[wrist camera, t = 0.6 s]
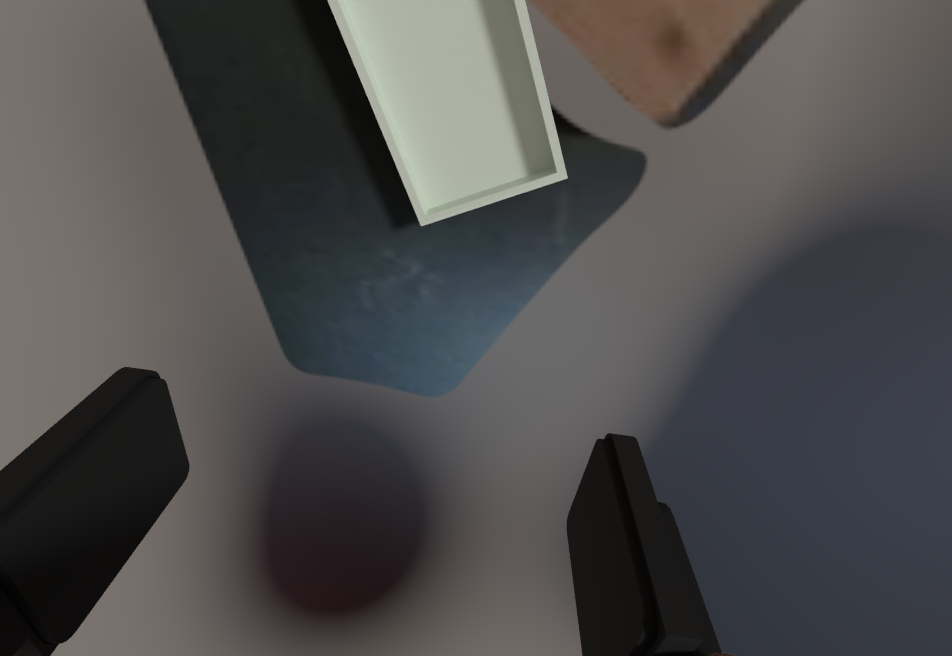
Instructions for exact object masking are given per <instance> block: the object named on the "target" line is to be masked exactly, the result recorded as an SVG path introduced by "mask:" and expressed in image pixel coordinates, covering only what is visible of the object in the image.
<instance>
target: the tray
mask: <svg viewBox="0 0 952 656" xmlns="http://www.w3.org/2000/svg"><path fill="white" fill-rule="evenodd" d="M328 3H329V5H330V8H331V10H332V13H333V15H334V17H335V20H336V22H337V25H338V27H339V29H340V32H341V34H342V37H343V39H344V42H345V44H346V46H347V49H348V51H349V54H350V56H351V58H352V61H353V63H354V66H355V68H356V70H357V73H358V75H359V78H360V80H361V83H362V85H363V87H364V90H365V92H366V95H367V97H368V99H369V102H370V104H371V107H372V109H373V111H374V114H375V116H376V119H377V121H378V124H379V126H380V128H381V131H382V133H383V136H384V138H385V140H386V143H387V145H388V148H389V150H390V152H391V155H392V157H393V160H394V162H395V165H396V167H397V169H398V172H399V174H400V177H401V179H402V181H403V184H404V186H405V189H406V191H407V193H408V196H409V198H410V201H411V203H412V206H413V208H414V210H415V213H416V215H417V218H418V220H419V222H420V225H421V226H424V225H427V224H430V223H433V222H436V221H439V220H442V219H445V218H448V217H451V216H454V215H457V214H460V213H463V212H466V211H469V210H472V209H475V208H479V207H482V206H485V205H488V204H491V203H494V202H497V201H500V200H503V199H506V198H509V197H512V196H515V195H518V194H521V193H524V192H527V191H530V190H533V189H537V188H540V187H543V186H546V185H549V184H552V183H555V182H558V181H561V180H564V179H567V178H568V177H567V173H566V169H565V165H564V161H563V157H562V152H561V148H560V144H559V140H558V136H557V132H556V127H555V123H554V119H553V115H552V111H551V107H550V102H549V98H548V94H547V90H546V86H545V82H544V78H543V73H542V69H541V65H540V61H539V57H538V52H537V48H536V44H535V40H534V36H533V32H532V27H531V23H530V19H529V15H528V11H527V7H526V2H525V0H328Z"/></svg>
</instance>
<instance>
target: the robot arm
mask: <svg viewBox="0 0 952 656" xmlns="http://www.w3.org/2000/svg"><path fill="white" fill-rule="evenodd" d="M188 472H189V461H188V458H187V454H186V451H185V447H184V443H183V440H182V436H181V433H180V429H179V426H178V422H177V418H176V415H175V411H174V408H173V404H172V401H171V397H170V393H169V390H168V387H167V383H166V381H165V380H164V379H161V378H160V376H159V374H158V373H157V372H156V371H152V370H145V369H137V368H130V367H124V368H121V369H120V370H118V371H117V372H115V373H114V374H113V375H112V376H111V377H110V378H108V379H107V380H106V381H105V382H104V383H103V384H101V385H100V386H99V387H98V388H97V389H96V390H94V391H93V392H92V393H91V394H90V395H88V396H87V397H86V398H85V399H84V400H83V401H82V402H80V403H79V404H78V405H77V406H76V407H74V409H72V410H71V411H70V412H69V413H68V414H66V415H65V416H64V417H63V418H62V419H60V421H58V422H57V423H56V424H55V425H54V426H52V427H51V428H50V429H49V430H48V431H46V432H45V433H44V434H43V435H42V436H41V437H39V438H38V439H37V440H36V441H35V442H34V443H32V444H31V445H30V446H29V447H28V448H27V449H25V450H24V451H23V452H22V453H21V454H20V455H18V456H17V457H16V458H15V459H14V460H13V461H11V462H10V463H9V464H8V465H7V466H5V467H4V468H3V469H2V470H1V471H0V656H50V655H51V654H52V652H53V651H54V650H55V648H56V647H57V646H58V644H59V643H63V642H65V641H67V640H68V639H69V638H70V637H72V635H73V634H74V633H75V632H76V631H77V629H78V628H79V627H80V625H81V624H82V622H83V621H84V620H85V618H86V617H87V615H88V614H89V613H90V611H91V610H92V608H93V607H94V606H95V604H96V603H97V601H98V600H99V599H100V598H101V596H102V595H103V593H104V592H105V591H106V589H107V588H108V586H109V585H110V583H111V582H112V581H113V580H114V578H115V577H116V575H117V574H118V573H119V571H120V570H121V569H122V567H123V566H124V564H125V563H126V562H127V560H128V559H129V557H130V556H131V555H132V553H133V552H134V550H135V549H136V548H137V546H138V545H139V544H140V542H141V541H142V540H143V538H144V537H145V535H146V534H147V533H148V531H149V530H150V529H151V527H152V526H153V524H154V523H155V522H156V520H157V519H158V517H159V516H160V515H161V513H162V512H163V511H164V509H165V508H166V506H167V505H168V503H169V502H170V501H171V500H172V498H173V497H174V495H175V494H176V492H177V491H178V490H179V488H180V487H181V486H182V484H183V483H184V481H185V480H186V478H187V476H188ZM567 535H568V544H569V552H570V560H571V567H572V576H573V583H574V591H575V599H576V607H577V615H578V623H579V631H580V638H581V646H582V654H583V656H735V655H732V654H729V653H722V652H721V649H720V646H719V643H718V640H717V638H716V635H715V632H714V629H713V626H712V623H711V621H710V618H709V615H708V612H707V609H706V607H705V604H704V601H703V598H702V595H701V593H700V590H699V587H698V584H697V581H696V578H695V575H694V573H693V570H692V567H691V564H690V561H689V559H688V556H687V553H686V550H685V547H684V544H683V542H682V539H681V536H680V533H679V531H678V527H677V525H676V522H675V519H674V516H673V514H672V512H671V510H670V508H669V507H668V506H667V505H666V504H664V503H661V502H657V499H656V496H655V493H654V490H653V487H652V484H651V481H650V478H649V475H648V472H647V469H646V465H645V462H644V459H643V456H642V453H641V450H640V447H639V444H638V442H637V439H636V438H635V437H632V436H624V435H617V434H610V433H608V434H607V435H606V436H605V438H604V439H598V440H597V441H596V443H595V445H594V448H593V451H592V453H591V456H590V458H589V461H588V464H587V466H586V469H585V472H584V474H583V477H582V480H581V482H580V485H579V487H578V490H577V493H576V495H575V498H574V501H573V503H572V506H571V509H570V511H569V514H568V518H567Z"/></svg>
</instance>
